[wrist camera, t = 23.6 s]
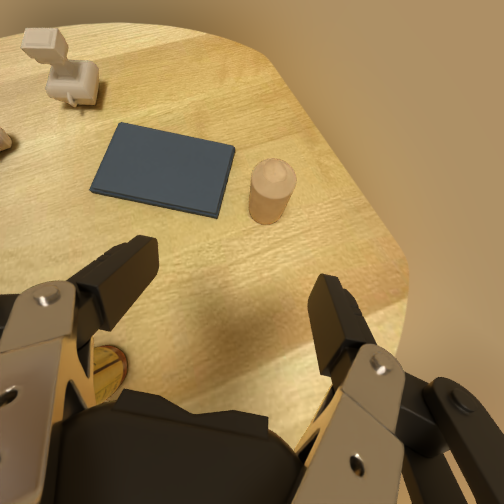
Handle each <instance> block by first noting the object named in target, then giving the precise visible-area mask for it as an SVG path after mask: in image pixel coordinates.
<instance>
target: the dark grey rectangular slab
mask: <svg viewBox="0 0 504 504" xmlns="http://www.w3.org/2000/svg"><path fill="white" fill-rule="evenodd" d="M234 153H235V147H234V146H232V145H227V144H223V143H218V142H213V141H209V140H204V139H199V138H194V137H190V136H185V135H180V134H175V133H171V132H166V131H161V130H156V129H152V128H147V127H142V126H138V125H133V124H128V123H123V122H121V123H119V124H118V126H117V128H116V131H115V133H114V135H113V137H112V140H111V142H110V144H109V146H108V149H107V151H106V153H105V155H104V158H103V160H102V162H101V164H100V167H99V169H98V171H97V173H96V176H95V178H94V180H93V182H92V185H91V187H90V189H89V191H91V192H92V193H96V194H101V195H106V196H111V197H115V198H120V199H125V200H130V201H135V202H139V203H144V204H149V205H154V206H159V207H163V208H168V209H173V210H178V211H183V212H187V213H192V214H197V215H202V216H207V217H211V218H216V219H217V218H218V215H219V211H220V207H221V203H222V200H223V196H224V192H225V188H226V184H227V180H228V176H229V173H230V169H231V165H232V161H233V157H234Z"/></svg>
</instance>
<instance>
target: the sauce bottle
mask: <svg viewBox="0 0 504 504" xmlns="http://www.w3.org/2000/svg"><path fill="white" fill-rule="evenodd" d="M126 374H127V362H126V359H125V355H124V354H123V352H122V351H121V350H119V349H118V348H115V347H113V346H109V345H105V346H100V347H96V348H94V367H93V384H94V392H95V397H96V405H98V404H101V403H102V402H104V401H105V400H106V399H107V398H109V397H110V396H111V395H112V394H113V393H114V392H115V391H116V390H117V388H118V387H119V386H120V384H121V383H122V381H123V380H124V378H125V376H126Z"/></svg>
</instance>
